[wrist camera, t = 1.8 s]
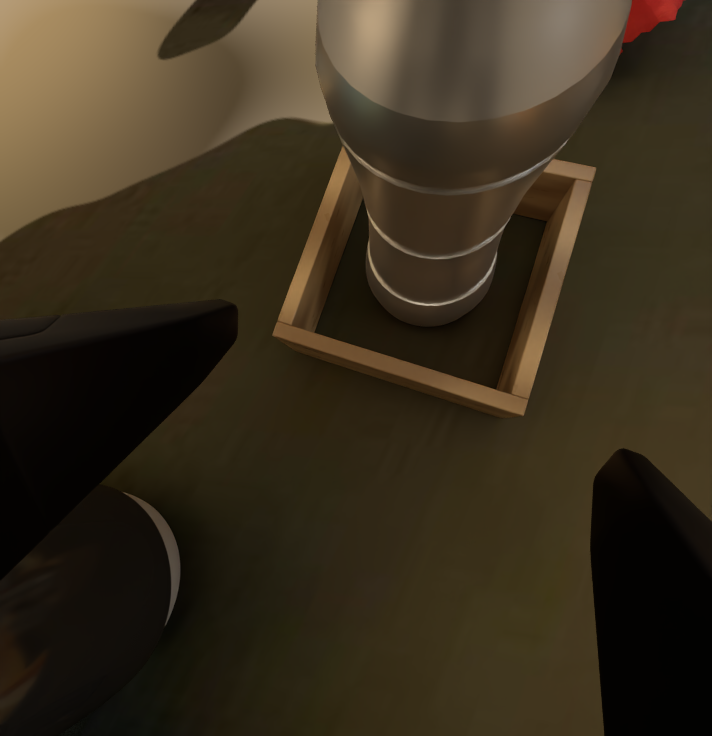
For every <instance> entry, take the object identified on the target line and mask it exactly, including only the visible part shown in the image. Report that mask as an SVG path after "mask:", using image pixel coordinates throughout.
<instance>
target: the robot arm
mask: <svg viewBox="0 0 712 736" xmlns="http://www.w3.org/2000/svg"><path fill="white" fill-rule="evenodd" d="M237 334H238V309H237V306H236V305H235V304H233V303H230V302H227V301H225V300H221V299H218V300H208V301H198V302H188V303H177V304H167V305H157V306H146V307H136V308H126V309H115V310H105V311H95V312H85V313H74V314H64V315H62V316H60V315H53V316H43V317H32V318H20V319H8V320H0V581H1V580H2V579H3V578H4V577H5V576H6V575H7V574H8V573H9V572H10V571H11V570H12V569H13V568H14V567H15V566H16V565H17V564H18V563H19V562H20V561H21V560H22V559H23V558H24V557H25V556H26V555H27V554H28V553H29V552H30V551H32V550H33V549H34V548H35V547H36V546H37V545H38V544H39V543H40V542H41V541H42V540H43V539H44V538H45V537H46V536H47V535H48V534H49V531H51V530H53V529H54V528H55V527H56V526H57V525H58V524H59V523H60V522H61V521H62V520H63V519H64V518H65V517H66V516H67V515H68V514H69V513H70V512H71V511H72V510H73V509H74V508H75V507H76V506H77V505H78V504H79V503H80V502H81V501H82V500H83V499H84V498H85V497H86V496H87V495H88V494H89V493H90V492H91V491H92V490H93V489H94V488H95V487H96V486H97V485H98V484H99V483H100V482H102V481H103V480H104V479H105V478H106V477H107V476H108V475H109V474H110V473H111V472H112V471H113V470H114V469H115V468H116V467H117V466H118V465H119V464H120V463H121V462H122V461H123V460H124V459H125V458H126V457H127V456H128V455H129V454H130V453H131V452H132V451H133V450H134V449H135V448H136V447H137V446H138V445H139V444H140V443H141V442H142V441H143V440H144V439H145V438H146V437H147V436H148V435H149V434H150V433H151V432H152V431H154V430H155V429H156V428H157V427H158V426H159V425H160V424H161V423H162V422H163V421H164V420H165V419H166V418H167V417H168V416H169V415H170V414H171V413H172V412H173V411H174V410H175V409H176V408H177V407H178V406H179V405H180V404H181V403H182V402H183V401H184V400H185V399H186V398H187V397H188V396H189V395H190V394H191V393H192V392H193V391H194V390H195V389H196V388H197V387H198V386H199V385H200V384H201V383H202V382H203V381H204V379H205V378H206V377H207V376H208V375H209V373H210V372H211V371H212V370H213V369H214V367H215V366H216V365H217V364H218V362H219V361H220V360H221V359H222V357H223V356H224V355H225V354H226V353H227V351H228V350H229V349H230V348H231V346H232V345H233V344H234V342H235V341H236V338H237ZM590 552H591V568H592V581H593V594H594V607H595V620H596V633H597V646H598V659H599V672H600V684H601V697H602V710H603V723H604V736H712V522H711V521H710V520H709V519H708V518H707V517H706V516H705V515H704V514H703V513H702V512H701V511H700V510H699V509H698V508H697V507H696V506H695V505H694V504H693V503H692V502H691V501H690V500H689V499H688V498H687V497H686V496H685V495H684V494H683V493H682V492H681V491H680V490H679V489H678V488H677V487H676V486H675V485H674V484H673V483H672V482H670V481H669V480H668V479H667V478H666V477H665V476H664V475H663V474H662V473H661V472H660V471H659V470H658V469H657V468H656V467H655V466H654V465H653V464H652V463H651V462H650V461H649V460H648V459H647V458H646V457H645V456H643V455H641V454H638V453H636V452H633V451H630V450H627V449H624V448H623V449H619V450H617V451H616V452H615V453H614V454H613V455H612V456H611V457H610V459H609V460H608V461H607V462H606V463H605V465H604V466H603V467H602V468H601V469H600V470H599V472H598V473H597V474H596V476H595V479H594V483H593V499H592V518H591V538H590Z"/></svg>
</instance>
